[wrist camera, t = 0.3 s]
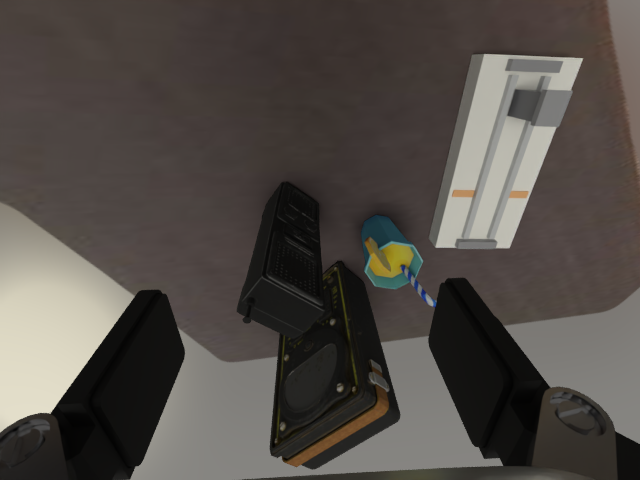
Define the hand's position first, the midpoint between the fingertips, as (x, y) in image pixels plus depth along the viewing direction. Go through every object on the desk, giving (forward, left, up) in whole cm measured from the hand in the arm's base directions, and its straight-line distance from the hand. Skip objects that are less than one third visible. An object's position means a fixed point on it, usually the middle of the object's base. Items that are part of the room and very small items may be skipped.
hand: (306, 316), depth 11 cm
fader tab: (-4, +27, -33) cm, 42 cm away
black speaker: (+29, +4, -36) cm, 46 cm away
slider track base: (+4, +27, -36) cm, 45 cm away
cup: (+16, +13, -36) cm, 41 cm away
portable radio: (+12, -1, -36) cm, 38 cm away
